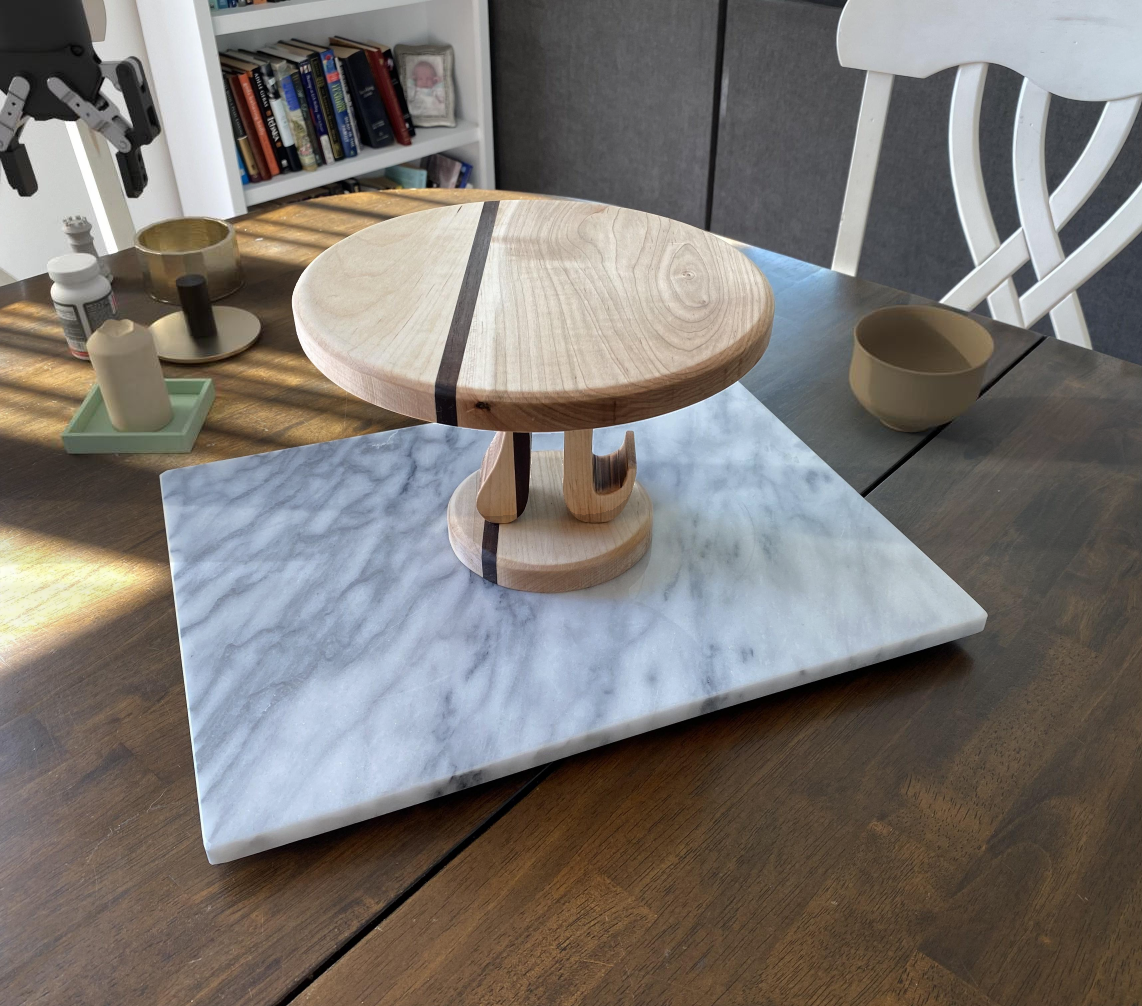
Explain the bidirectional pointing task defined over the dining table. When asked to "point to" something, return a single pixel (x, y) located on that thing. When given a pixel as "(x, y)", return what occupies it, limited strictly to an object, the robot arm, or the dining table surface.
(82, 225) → the rook chess piece
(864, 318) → the bowl
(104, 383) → the candle
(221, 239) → the pot
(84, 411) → the tray
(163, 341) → the lid
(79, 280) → the pill bottle
